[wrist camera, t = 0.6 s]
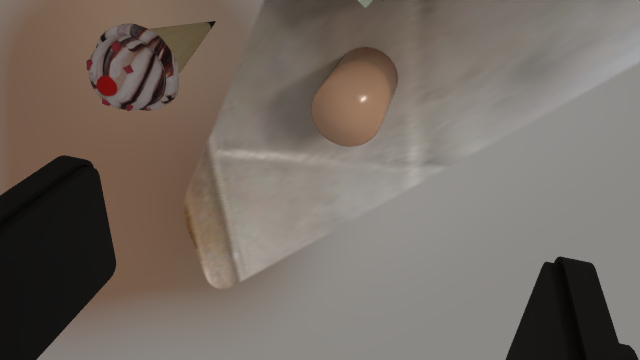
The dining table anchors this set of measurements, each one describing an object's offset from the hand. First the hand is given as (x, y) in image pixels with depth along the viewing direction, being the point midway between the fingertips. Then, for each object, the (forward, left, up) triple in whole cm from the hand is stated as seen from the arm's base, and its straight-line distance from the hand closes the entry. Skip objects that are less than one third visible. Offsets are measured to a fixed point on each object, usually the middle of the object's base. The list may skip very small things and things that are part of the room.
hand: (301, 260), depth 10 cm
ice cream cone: (+15, -10, -31) cm, 36 cm away
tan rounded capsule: (+9, +2, -30) cm, 32 cm away
